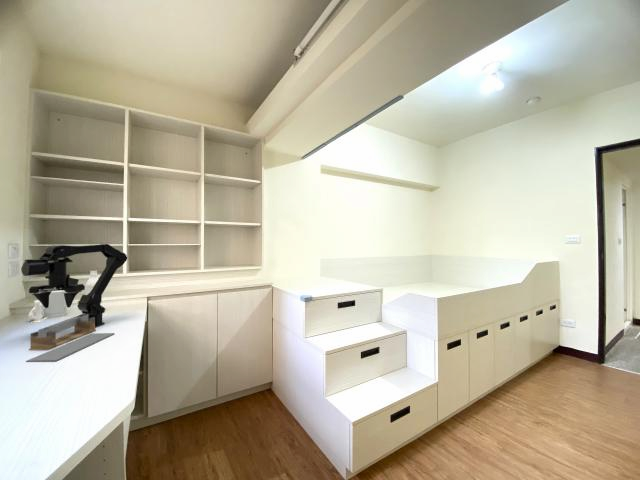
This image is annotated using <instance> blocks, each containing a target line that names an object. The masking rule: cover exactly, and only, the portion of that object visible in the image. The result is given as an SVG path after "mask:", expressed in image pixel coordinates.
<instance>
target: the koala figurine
mask: <svg viewBox="0 0 640 480" xmlns="http://www.w3.org/2000/svg"><path fill="white" fill-rule="evenodd" d="M33 304H34V306H33V308H32V309H30V311H29V313H28V319H29V320H33V321H31V323H32V322H33V323H41V322H44V321H46V320H47V319H48V318H47V317H44V309H46V308H45V307H44V306H43V305H42V304H41V302H40V301H39V300H38V299H37V300H34V301H33ZM43 317H44V318H43ZM33 323H32V324H33Z"/></svg>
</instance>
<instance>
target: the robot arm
mask: <svg viewBox="0 0 640 480" xmlns="http://www.w3.org/2000/svg"><path fill="white" fill-rule="evenodd" d="M89 253H90V254H91V253H92V254H93V253H101V254H102V255H103V256H104V257H105V258H106V260H105V268H104V269H103V271H102V272H101V274H100V276H98V278H99V279H98V280H97V282H96V284H95V285H94V287H93V289H92V290H91V292H90V293H89V294H87V295H85V294H82V295H81V297H80V299H79V300H78V301H77V306H76V307H77V309H78V310H79V311H80V312H81V314H88V319H90V318H93V317H95V328H98V327H99V326H102V325H104V324H106V322H105V321H103V314H104V313H105V311H106V307H104V306H103V305H102V296H103V294H104V291H106V288H107V287H108V285H109V284H110V281H111V279H112V278H113V277H114V275H115V273H116V272H117V270H119V268H121V267H122V266H123V265H124V264H125V263H126V261H127V260H128V256H127V254H126V253H124V252H122V251H121V250H119V249H116V248H115V247H113V246H112V245H110V244H108V243H101V244H100V243H99V244H91V245H90V244H89V245H76V246H75V245H73V246H72V245H65V244H64V245H63V244H60V245H59V244H57V245H53V244H52V245H49V246H48V247H46V249H45V252H44V253H43V254H42V255H41V256H40V257H39V258H38V259H30V258H29V259H28V258H27V259H24V262H23V263H22V265H21V266H22V267H21V268H20V269H21V274H22V275H23V276H24V277H28V276H30V277H31V276H40V275H46V274H47V275H46V276H45V279H47V281H48V282H47V284H38V285H33V286H30V287H29V289H28V293H29V294H31V295H32V296H34V297H35V298H36V299H37V300H39V301H40V302H41V304H42V305H43V306H44V307H45V308H48V307H49V295H50V294H51V292H52V291H59V290H64V291H65V292H66V293H64V297H65V301H66V309H67V308H71V305H72V304H73V302H74V299H75V298H76V296H77V295H78V294H79V293H82V291H86V286H85V284H83V283H79V281H80V279H78V278H73V277H71V275H70V274H69V273H67V269H68V268H67V265H68V264H67V263H73V260H72V259H71V258H69V257H72V256H75V255H80V254H89ZM100 304H101V305H100Z"/></svg>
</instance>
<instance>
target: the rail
mask: <svg viewBox="0 0 640 480" xmlns="http://www.w3.org/2000/svg"><path fill="white" fill-rule="evenodd" d="M86 321H88V314H83V313H81V314H79V315H76V316H73V317H71V318H70V317H69V318H67V319H66V320H65V319H64V320H62V321H59V322H57V323H53V324H52V325H51V324H50V325H48V326H45V327H43V328H40V329H38V330H37V331H38V338H45V337H47V333H49V332H52V331H56V334H58V333H61V332H63V331H66V330H68V329H71V328H73V327H74V326H76V325H78V324H81V323H83V322H86Z"/></svg>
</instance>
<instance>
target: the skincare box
mask: <svg viewBox="0 0 640 480" xmlns="http://www.w3.org/2000/svg"><path fill="white" fill-rule="evenodd" d="M64 293H67V292H65V291H64V290H59V291H52V292H51V294H50V295H49V307H48V308H46V309H43V310H44V312H43V317H44V318H45V317H47V319H55V318H61V317H66V316H67V314H68V313H67V311H68V310H67V305H66V301H65V297H64Z"/></svg>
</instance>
